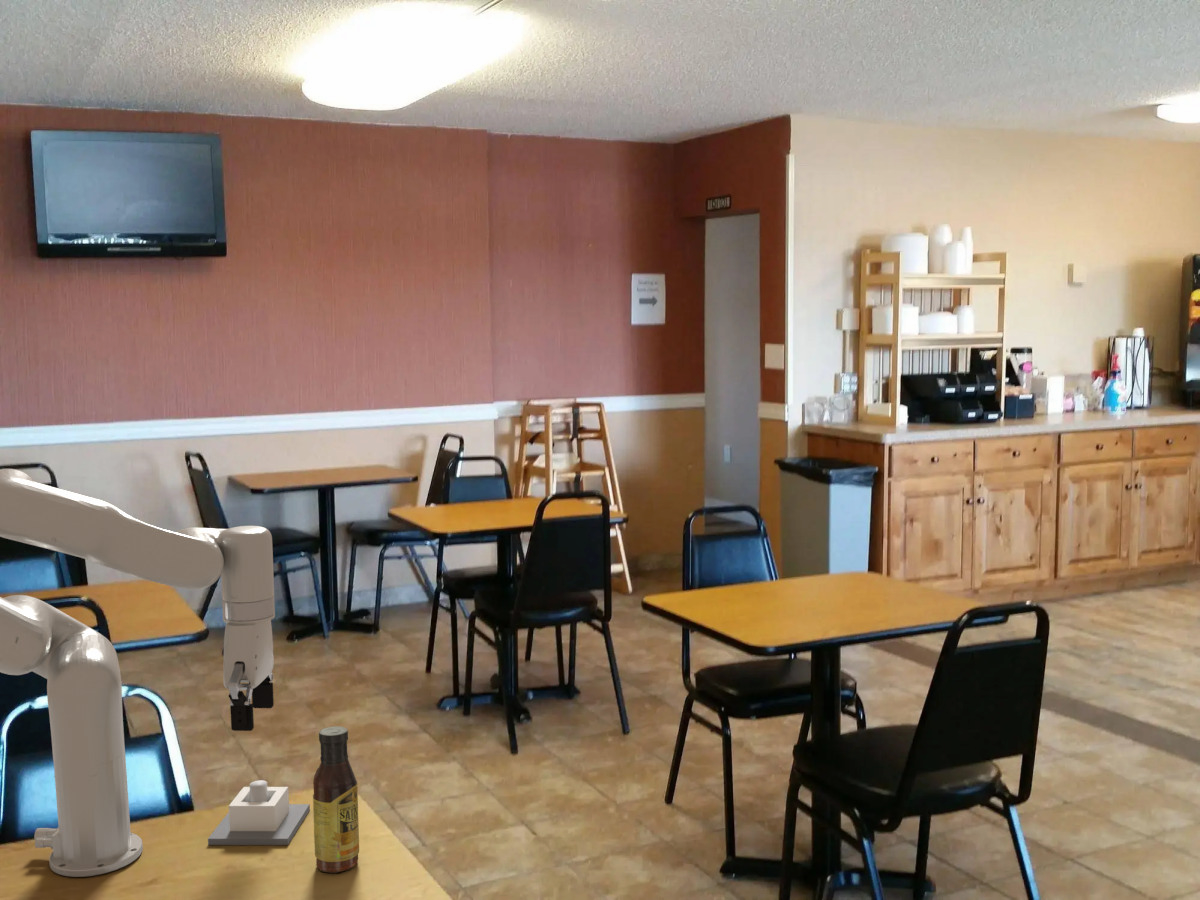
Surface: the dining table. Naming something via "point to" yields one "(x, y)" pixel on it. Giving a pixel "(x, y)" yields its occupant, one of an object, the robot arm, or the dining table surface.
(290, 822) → the post base
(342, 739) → the sauce bottle
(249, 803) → the white block
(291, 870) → the dining table surface
